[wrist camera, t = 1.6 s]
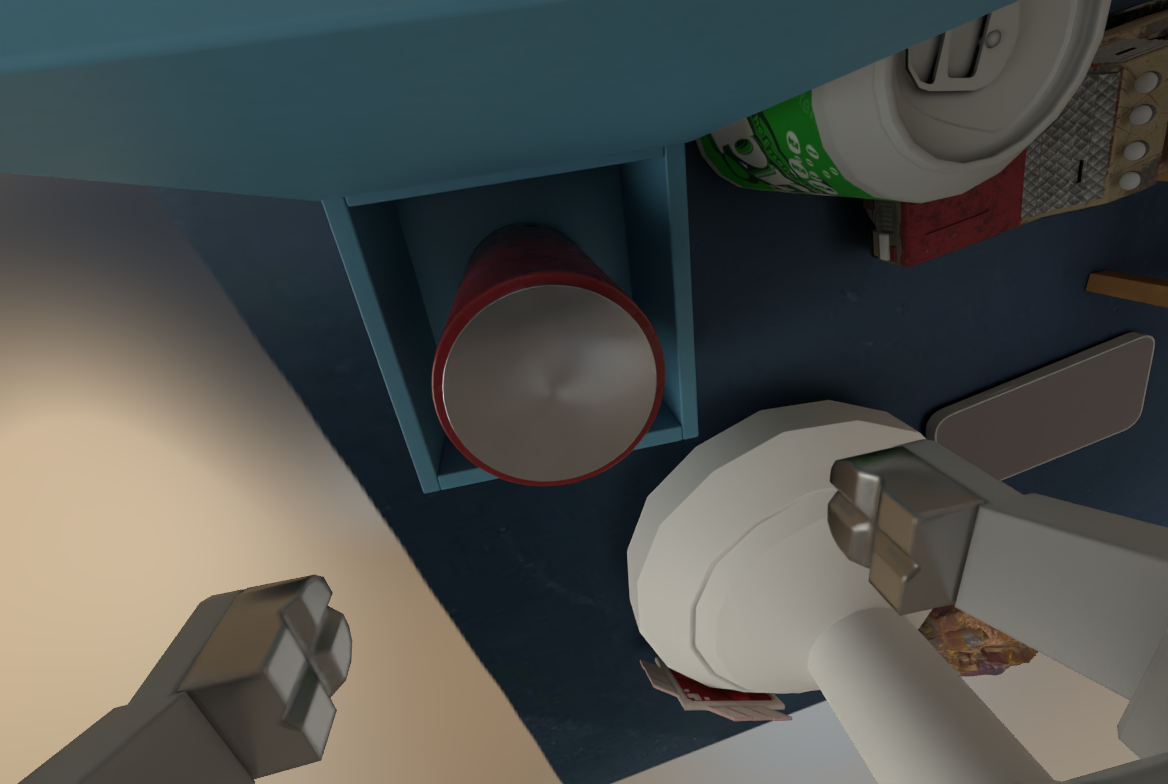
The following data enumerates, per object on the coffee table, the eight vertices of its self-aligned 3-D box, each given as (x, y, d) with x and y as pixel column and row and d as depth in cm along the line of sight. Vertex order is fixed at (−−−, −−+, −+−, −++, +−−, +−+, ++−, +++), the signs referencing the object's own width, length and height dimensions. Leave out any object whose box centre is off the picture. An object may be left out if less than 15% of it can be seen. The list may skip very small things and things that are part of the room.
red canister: (448, 234, 22) (397, 297, 11) (582, 211, 23) (658, 251, 12) (480, 360, 25) (464, 510, 14) (599, 337, 25) (674, 465, 14)
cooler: (648, 369, 27) (699, 437, 20) (443, 408, 26) (423, 494, 19) (627, 141, 22) (685, 128, 15) (375, 180, 21) (315, 186, 15)
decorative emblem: (613, 673, 33) (679, 632, 41) (612, 679, 33) (679, 637, 41) (774, 740, 26) (816, 676, 34) (774, 748, 26) (816, 682, 34)
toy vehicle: (829, 119, 23) (968, 97, 16) (1184, -15, 23) (1473, -92, 16) (841, 259, 26) (963, 291, 19) (1155, 141, 26) (1389, 131, 19)
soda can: (685, -2, 20) (892, -194, 10) (850, 0, 21) (1208, -173, 11) (676, 192, 24) (825, 212, 13) (821, 186, 25) (1073, 199, 14)
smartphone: (1139, 425, 34) (937, 507, 34) (1124, 419, 34) (926, 499, 35) (1158, 329, 30) (934, 420, 30) (1140, 325, 31) (922, 413, 31)
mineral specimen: (825, 688, 33) (804, 586, 38) (896, 705, 36) (869, 608, 40) (1023, 662, 25) (967, 536, 29) (1097, 687, 28) (1035, 568, 32)
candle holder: (898, 331, 28) (1516, 584, 11) (901, 569, 37) (1251, 917, 20) (574, 445, 28) (691, 883, 11) (654, 657, 37) (789, 1087, 20)
